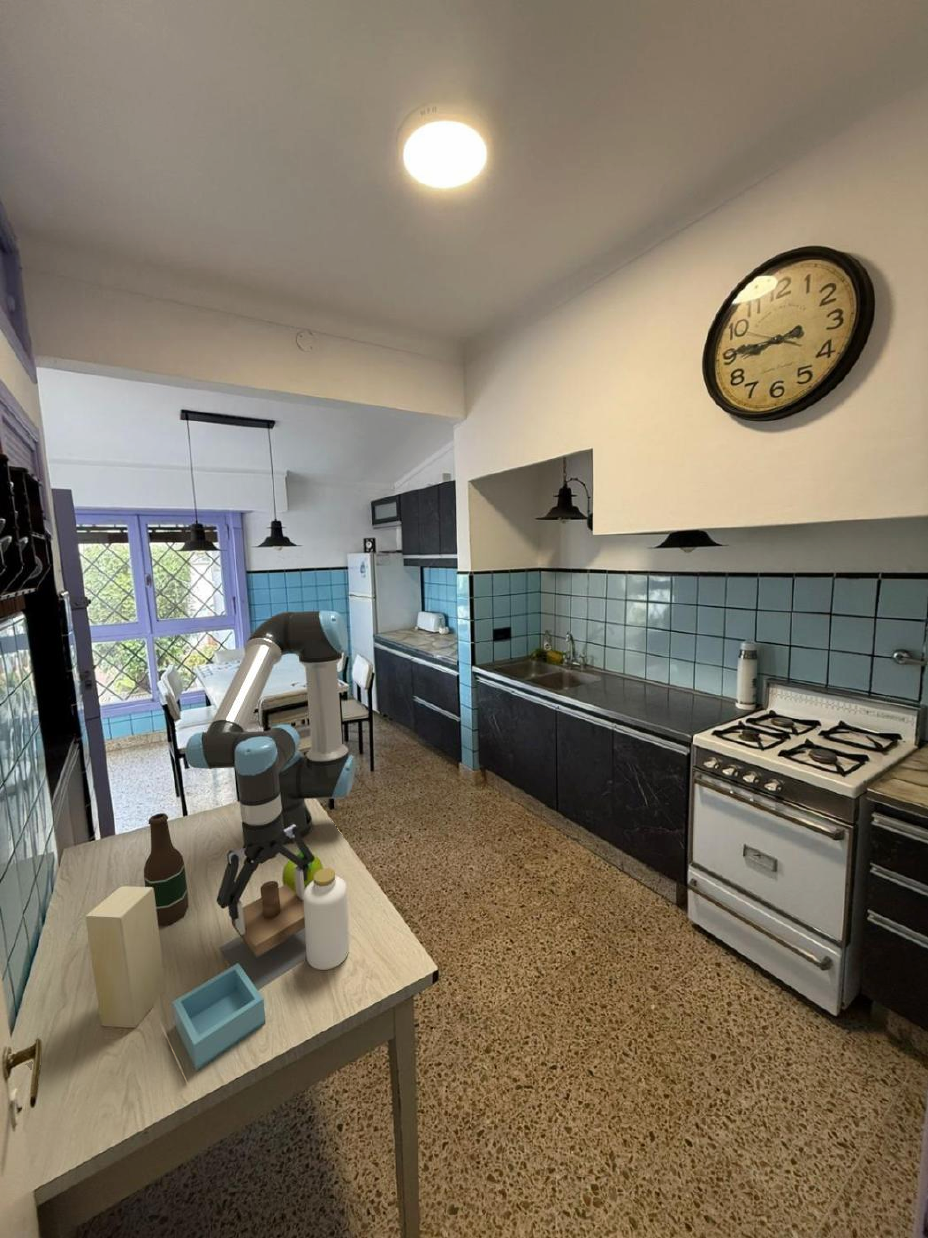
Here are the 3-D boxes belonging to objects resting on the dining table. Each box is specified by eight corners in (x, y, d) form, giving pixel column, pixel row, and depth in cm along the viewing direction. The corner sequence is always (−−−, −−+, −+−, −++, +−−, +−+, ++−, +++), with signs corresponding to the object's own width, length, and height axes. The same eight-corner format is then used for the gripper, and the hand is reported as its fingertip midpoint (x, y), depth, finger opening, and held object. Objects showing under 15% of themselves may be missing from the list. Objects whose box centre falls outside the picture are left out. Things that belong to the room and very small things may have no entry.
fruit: (323, 877, 124) (321, 840, 123) (325, 902, 115) (322, 862, 114) (284, 886, 122) (281, 848, 120) (283, 912, 113) (280, 871, 111)
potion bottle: (357, 955, 100) (354, 875, 97) (320, 981, 94) (316, 896, 91) (335, 932, 106) (332, 855, 103) (299, 955, 100) (294, 875, 97)
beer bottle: (171, 930, 108) (158, 827, 105) (141, 925, 110) (127, 824, 106) (197, 905, 116) (186, 808, 112) (168, 901, 117) (157, 806, 114)
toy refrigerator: (131, 986, 94) (117, 885, 91) (167, 989, 93) (154, 886, 90) (96, 1026, 86) (80, 916, 83) (135, 1029, 85) (120, 918, 83)
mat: (292, 908, 114) (292, 907, 114) (328, 946, 103) (328, 944, 102) (218, 949, 102) (218, 948, 102) (250, 996, 91) (250, 994, 91)
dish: (240, 986, 93) (238, 963, 93) (265, 1024, 86) (263, 998, 85) (175, 1027, 86) (172, 1001, 85) (197, 1073, 78) (193, 1045, 77)
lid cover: (287, 894, 111) (283, 859, 109) (314, 922, 103) (310, 885, 101) (231, 924, 102) (227, 887, 101) (256, 958, 94) (252, 918, 93)
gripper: (308, 787, 110) (316, 875, 113) (189, 835, 93) (202, 937, 96) (326, 798, 104) (333, 890, 108) (203, 852, 87) (216, 959, 91)
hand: (272, 912), depth 102 cm, fingers closed on lid cover, 12 cm apart
